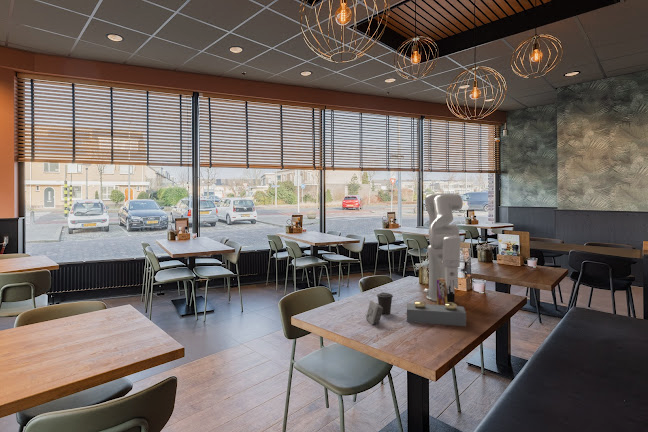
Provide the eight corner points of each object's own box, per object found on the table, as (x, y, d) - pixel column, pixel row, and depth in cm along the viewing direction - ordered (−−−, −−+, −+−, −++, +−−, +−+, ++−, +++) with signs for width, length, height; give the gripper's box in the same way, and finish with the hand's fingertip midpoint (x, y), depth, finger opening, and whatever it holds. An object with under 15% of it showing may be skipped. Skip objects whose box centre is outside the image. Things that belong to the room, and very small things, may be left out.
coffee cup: (383, 309, 187) (383, 290, 186) (396, 313, 181) (396, 293, 180) (373, 313, 181) (373, 293, 180) (386, 317, 175) (386, 296, 175)
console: (406, 322, 168) (406, 309, 167) (407, 315, 177) (407, 303, 177) (466, 326, 161) (466, 313, 161) (463, 318, 171) (463, 306, 171)
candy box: (454, 311, 183) (454, 281, 182) (447, 312, 181) (447, 282, 181) (442, 306, 191) (443, 277, 190) (436, 307, 190) (436, 278, 189)
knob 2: (445, 319, 166) (445, 305, 165) (444, 315, 171) (444, 302, 170) (457, 320, 165) (457, 306, 164) (455, 316, 169) (456, 303, 169)
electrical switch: (365, 318, 173) (367, 299, 173) (375, 319, 174) (377, 300, 174) (371, 325, 164) (373, 305, 164) (382, 325, 165) (384, 305, 165)
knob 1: (414, 317, 169) (414, 303, 169) (414, 313, 174) (414, 300, 174) (425, 318, 168) (425, 304, 168) (425, 314, 173) (425, 301, 172)
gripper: (461, 266, 158) (461, 307, 160) (457, 260, 173) (457, 297, 174) (443, 266, 160) (443, 306, 161) (441, 259, 175) (441, 296, 176)
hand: (450, 301), depth 168 cm, fingers closed
